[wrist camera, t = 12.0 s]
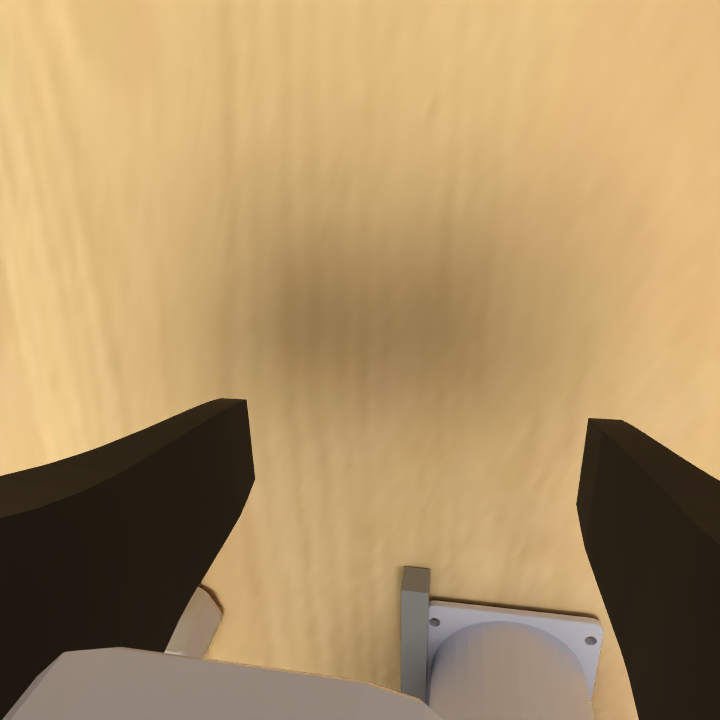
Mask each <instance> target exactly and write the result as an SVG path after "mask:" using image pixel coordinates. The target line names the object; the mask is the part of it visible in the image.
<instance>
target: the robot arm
mask: <svg viewBox="0 0 720 720" xmlns="http://www.w3.org/2000/svg"><path fill="white" fill-rule="evenodd" d="M254 480H255V473H254V464H253V455H252V446H251V436H250V427H249V418H248V409H247V400H243V399H224V398H220V399H216V400H213V401H210V402H207V403H204V404H202V405H199V406H197V407H194V408H192V409H189V410H187V411H185V412H183V413H180V414H178V415H176V416H173V417H171V418H169V419H167V420H164V421H162V422H160V423H157V424H155V425H153V426H151V427H148V428H146V429H144V430H141V431H139V432H136V433H134V434H131V435H129V436H126V437H124V438H121V439H119V440H116V441H114V442H111V443H109V444H106V445H104V446H101V447H99V448H96V449H93V450H90V451H87V452H84V453H81V454H79V455H75V456H72V457H69V458H66V459H63V460H59V461H56V462H53V463H50V464H46V465H43V466H39V467H35V468H31V469H27V470H23V471H19V472H15V473H11V474H7V475H3V476H0V720H595V717H594V713H593V709H592V704H591V701H592V695H593V689H594V684H595V678H596V673H597V667H598V662H599V656H600V651H601V645H602V640H603V634H604V631H603V627H602V624H601V622H600V621H598V620H597V619H594V618H588V617H579V616H570V615H561V614H552V613H543V612H534V611H525V610H516V609H507V608H498V607H489V606H481V605H472V604H463V603H454V602H445V601H436V600H435V601H429V617H428V652H427V688H426V704H425V703H424V702H422V701H421V700H420V699H418V698H415V697H412V696H409V695H406V694H403V693H400V692H397V691H394V690H391V689H388V688H385V687H382V686H379V685H376V684H373V683H370V682H367V681H363V680H355V679H348V678H341V677H334V676H327V675H320V674H312V673H305V672H298V671H291V670H284V669H276V668H269V667H262V666H255V665H248V664H240V663H233V662H226V661H219V660H212V659H204V658H197V657H190V656H183V655H176V654H168V653H164V652H165V650H166V648H167V646H168V643H169V641H170V639H171V637H172V635H173V633H174V631H175V628H176V626H177V624H178V622H179V620H180V618H181V616H182V614H183V612H184V610H185V608H186V607H187V605H188V603H189V601H190V599H191V597H192V596H193V594H194V592H195V591H196V589H197V588H198V586H199V584H200V583H201V581H202V579H203V578H204V576H205V574H206V573H207V571H208V569H209V568H210V566H211V564H212V563H213V561H214V559H215V558H216V556H217V554H218V553H219V551H220V549H221V548H222V546H223V544H224V543H225V541H226V539H227V538H228V536H229V534H230V532H231V531H232V529H233V527H234V526H235V524H236V522H237V520H238V519H239V517H240V515H241V513H242V510H243V508H244V506H245V503H246V501H247V499H248V496H249V493H250V491H251V488H252V486H253V483H254ZM576 505H577V511H578V516H579V521H580V527H581V532H582V537H583V541H584V546H585V550H586V553H587V556H588V559H589V561H590V564H591V567H592V570H593V573H594V576H595V579H596V582H597V585H598V587H599V590H600V593H601V596H602V599H603V601H604V604H605V607H606V610H607V613H608V615H609V618H610V621H611V624H612V627H613V630H614V632H615V635H616V638H617V641H618V644H619V646H620V649H621V652H622V656H623V659H624V662H625V666H626V669H627V672H628V676H629V680H630V684H631V688H632V692H633V697H634V701H635V705H636V709H637V713H638V717H639V720H720V481H719V480H717V479H716V478H714V477H712V476H711V475H709V474H707V473H706V472H704V471H702V470H701V469H699V468H697V467H696V466H694V465H693V464H691V463H689V462H688V461H686V460H685V459H683V458H682V457H680V456H678V455H677V454H675V453H674V452H672V451H671V450H669V449H668V448H666V447H665V446H663V445H662V444H660V443H659V442H657V441H656V440H654V439H652V438H651V437H649V436H648V435H646V434H645V433H643V432H642V431H640V430H638V429H637V428H635V427H634V426H632V425H630V424H628V423H626V422H624V421H622V420H613V419H594V418H588V426H587V433H586V440H585V447H584V454H583V461H582V468H581V475H580V482H579V489H578V496H577V503H576ZM432 618H436V619H438V620H433V619H432ZM591 636H592V638H587V637H591Z"/></svg>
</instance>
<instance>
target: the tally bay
mask: <svg viewBox="0 0 720 720" xmlns="http://www.w3.org/2000/svg"><path fill="white" fill-rule="evenodd" d="M429 595H430V569H424V568H414V567H404V575H403V582H402V590H401V693H403V694H406V695H409V696H412V697H415V698H418V699H420V700H421V701H422V702H424V703H425V704H426V688H427V652H428V617H429Z"/></svg>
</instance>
